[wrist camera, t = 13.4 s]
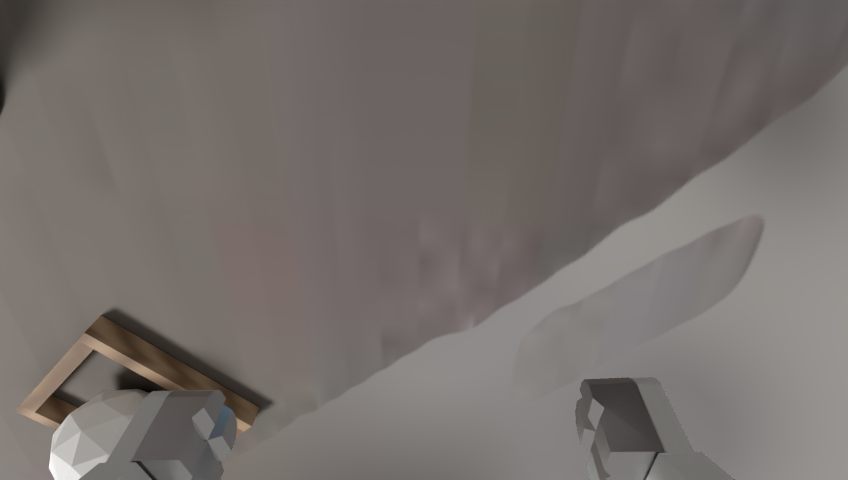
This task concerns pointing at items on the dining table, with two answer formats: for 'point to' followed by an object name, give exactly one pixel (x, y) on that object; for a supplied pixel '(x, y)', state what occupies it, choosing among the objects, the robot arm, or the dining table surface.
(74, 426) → the geodesic sphere
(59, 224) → the dining table surface
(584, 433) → the robot arm
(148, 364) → the wooden rectangular frame
